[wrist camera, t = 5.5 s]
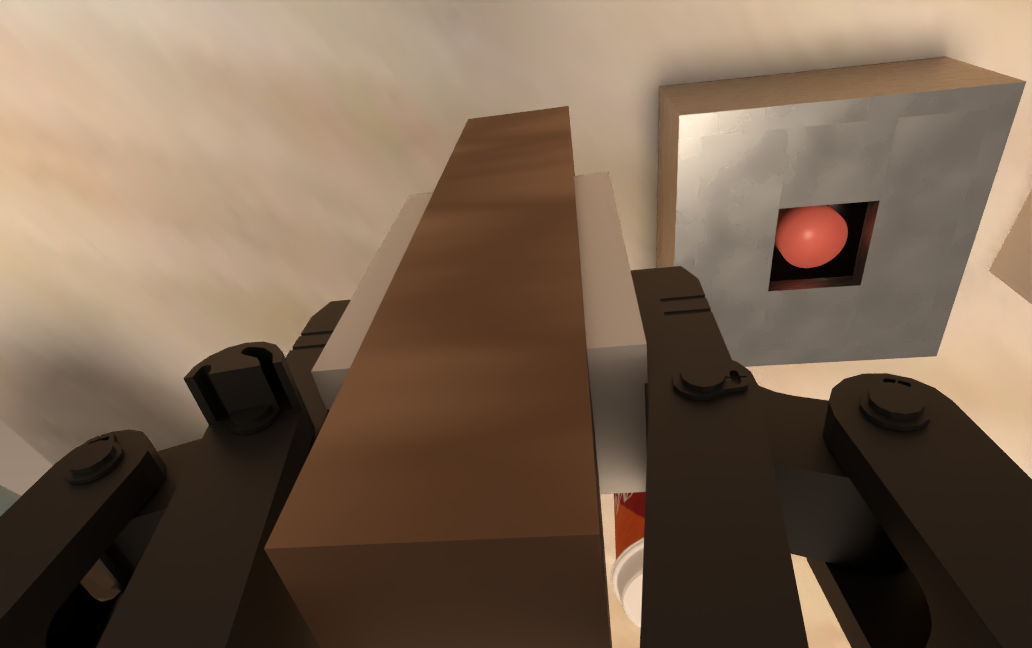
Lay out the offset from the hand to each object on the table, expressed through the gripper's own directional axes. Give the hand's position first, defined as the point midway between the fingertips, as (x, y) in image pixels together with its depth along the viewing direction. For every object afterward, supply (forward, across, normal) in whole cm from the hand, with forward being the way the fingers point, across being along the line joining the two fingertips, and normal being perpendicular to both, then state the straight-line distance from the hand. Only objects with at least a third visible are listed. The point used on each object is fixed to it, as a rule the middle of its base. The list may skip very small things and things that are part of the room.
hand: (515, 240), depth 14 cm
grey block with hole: (+21, +13, -9) cm, 26 cm away
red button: (+18, +13, -9) cm, 24 cm away
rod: (+6, 0, 0) cm, 6 cm away
